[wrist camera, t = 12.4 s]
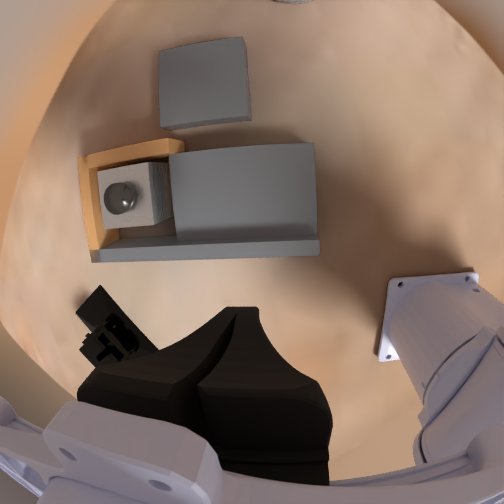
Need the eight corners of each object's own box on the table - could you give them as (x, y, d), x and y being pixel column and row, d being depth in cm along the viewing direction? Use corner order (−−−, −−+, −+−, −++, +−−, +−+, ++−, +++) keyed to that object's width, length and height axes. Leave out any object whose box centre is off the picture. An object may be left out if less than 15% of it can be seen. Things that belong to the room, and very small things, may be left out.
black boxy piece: (186, 363, 26) (171, 394, 22) (143, 388, 28) (127, 415, 23) (97, 265, 24) (68, 283, 20) (66, 304, 26) (40, 323, 21)
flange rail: (309, 131, 19) (314, 124, 16) (314, 242, 21) (319, 255, 18) (100, 157, 21) (77, 157, 17) (112, 250, 23) (91, 262, 20)
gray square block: (246, 47, 17) (242, 36, 15) (251, 120, 19) (248, 115, 17) (168, 59, 18) (158, 51, 16) (170, 130, 20) (160, 127, 18)
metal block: (170, 162, 20) (140, 161, 16) (175, 214, 21) (147, 228, 17) (125, 169, 21) (88, 172, 16) (130, 218, 22) (96, 232, 17)
